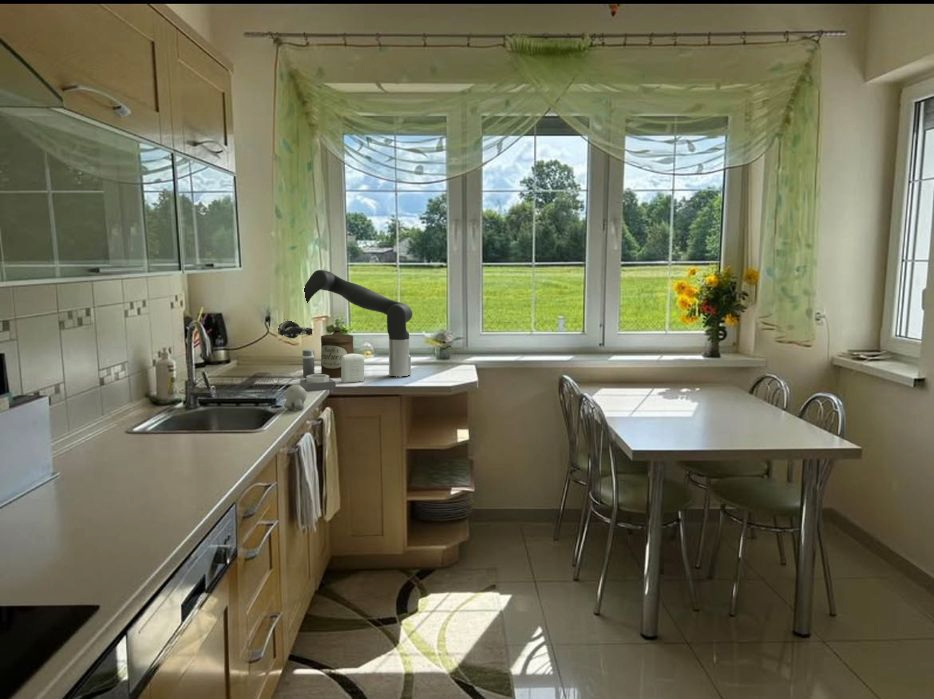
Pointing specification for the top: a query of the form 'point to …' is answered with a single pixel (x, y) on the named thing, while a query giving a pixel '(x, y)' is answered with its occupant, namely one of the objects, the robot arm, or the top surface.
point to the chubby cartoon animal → (295, 397)
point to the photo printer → (352, 368)
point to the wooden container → (334, 352)
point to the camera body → (317, 382)
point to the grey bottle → (308, 362)
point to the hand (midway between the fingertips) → (300, 333)
